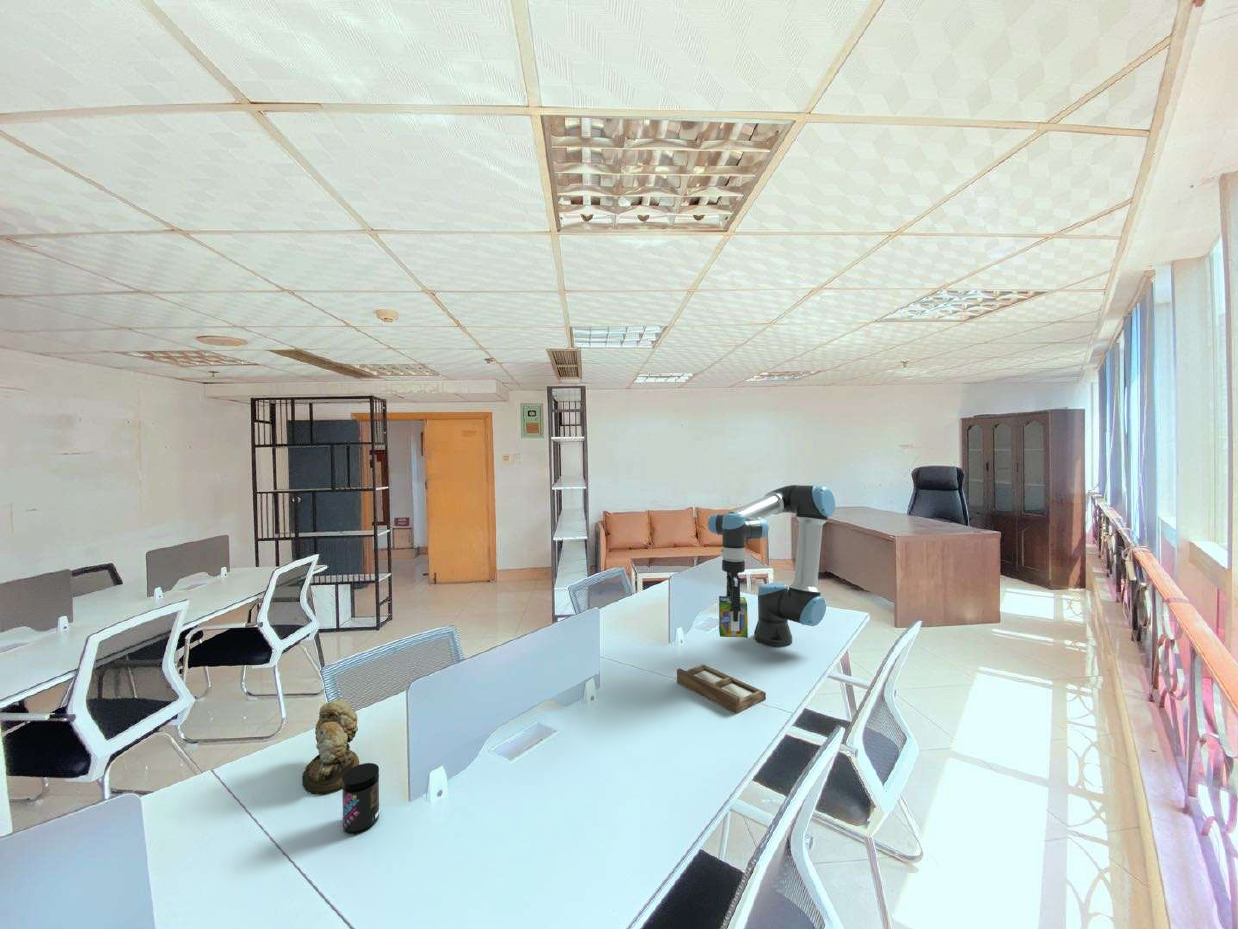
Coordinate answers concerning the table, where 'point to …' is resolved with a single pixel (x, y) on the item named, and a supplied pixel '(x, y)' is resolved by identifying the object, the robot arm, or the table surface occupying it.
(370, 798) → the supplement container
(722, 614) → the chalk box
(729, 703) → the brown wooden tray
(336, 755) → the tan statuette
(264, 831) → the table surface
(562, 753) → the table surface
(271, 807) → the table surface
